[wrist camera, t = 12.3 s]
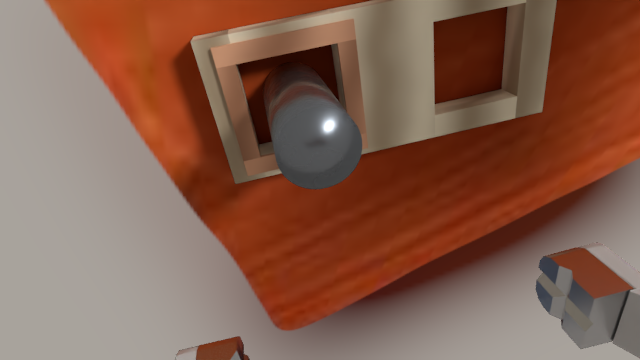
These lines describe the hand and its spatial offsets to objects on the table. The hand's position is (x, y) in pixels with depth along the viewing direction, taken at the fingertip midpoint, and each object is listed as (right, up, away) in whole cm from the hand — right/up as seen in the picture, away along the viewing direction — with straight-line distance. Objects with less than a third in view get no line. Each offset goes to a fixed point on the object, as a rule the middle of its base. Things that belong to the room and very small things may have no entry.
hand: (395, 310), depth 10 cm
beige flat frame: (+2, +11, +18) cm, 22 cm away
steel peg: (-4, +10, +18) cm, 21 cm away
